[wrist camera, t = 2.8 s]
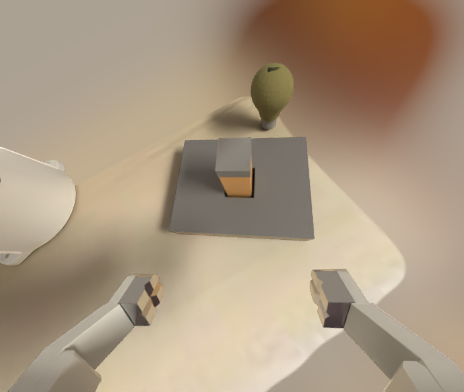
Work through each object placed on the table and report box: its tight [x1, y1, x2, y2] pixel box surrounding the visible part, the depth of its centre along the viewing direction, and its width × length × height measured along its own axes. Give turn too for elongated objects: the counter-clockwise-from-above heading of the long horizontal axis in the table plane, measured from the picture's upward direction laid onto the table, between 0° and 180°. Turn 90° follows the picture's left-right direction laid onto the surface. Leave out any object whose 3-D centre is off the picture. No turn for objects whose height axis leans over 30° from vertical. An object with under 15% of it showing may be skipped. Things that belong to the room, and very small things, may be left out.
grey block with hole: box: [169, 137, 314, 241], centre depth 25 cm, size 18×14×4 cm
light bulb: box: [251, 63, 294, 129], centre depth 25 cm, size 6×6×10 cm
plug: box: [215, 137, 252, 198], centre depth 21 cm, size 3×4×10 cm
